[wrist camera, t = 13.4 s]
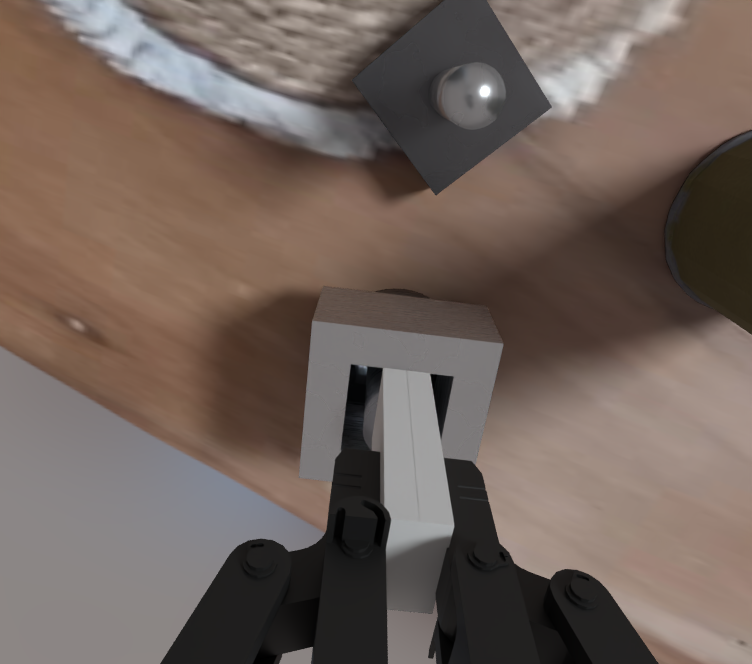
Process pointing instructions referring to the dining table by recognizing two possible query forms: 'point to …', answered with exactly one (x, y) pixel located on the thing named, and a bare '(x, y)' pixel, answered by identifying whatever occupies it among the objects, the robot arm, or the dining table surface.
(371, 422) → the cylinder
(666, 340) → the dining table surface
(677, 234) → the canister
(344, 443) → the grey square ring block
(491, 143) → the stand
